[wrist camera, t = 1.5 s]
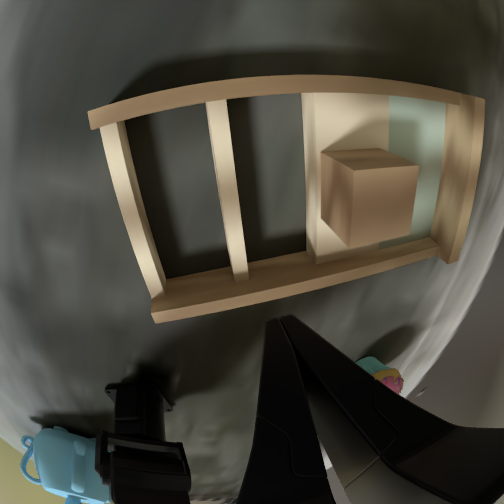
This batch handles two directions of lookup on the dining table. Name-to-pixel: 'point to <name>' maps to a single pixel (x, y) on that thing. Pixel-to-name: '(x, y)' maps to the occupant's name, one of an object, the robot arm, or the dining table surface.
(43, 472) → the decorative pot
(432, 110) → the board
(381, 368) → the cupcake
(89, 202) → the dining table surface
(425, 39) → the dining table surface
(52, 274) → the dining table surface
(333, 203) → the walnut block
